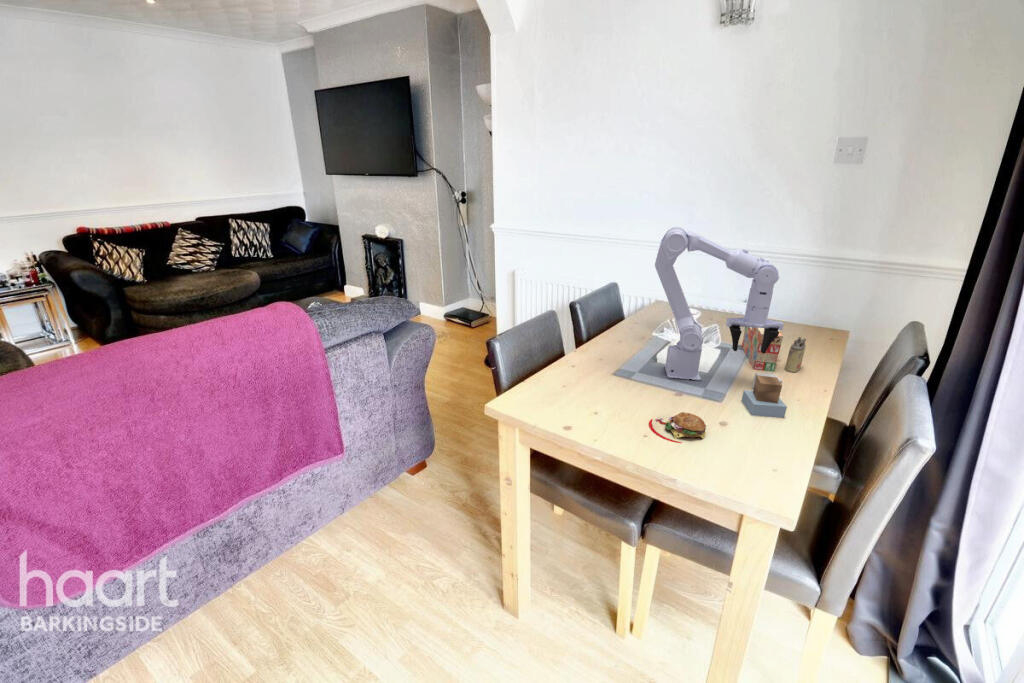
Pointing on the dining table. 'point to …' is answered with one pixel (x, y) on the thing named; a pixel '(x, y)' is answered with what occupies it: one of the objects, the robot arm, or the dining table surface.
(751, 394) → the base block
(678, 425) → the hamburger
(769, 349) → the stack of blocks
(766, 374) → the grey cube
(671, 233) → the robot arm
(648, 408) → the dining table surface
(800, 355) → the lighter
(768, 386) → the walnut cube
